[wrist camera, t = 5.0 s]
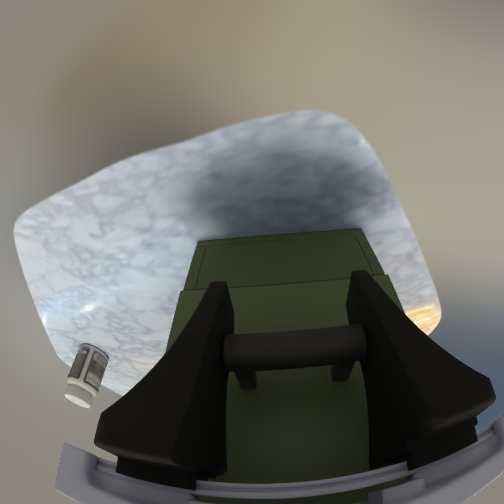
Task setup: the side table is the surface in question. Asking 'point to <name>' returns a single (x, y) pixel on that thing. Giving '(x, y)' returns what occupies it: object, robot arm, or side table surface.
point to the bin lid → (293, 388)
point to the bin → (281, 259)
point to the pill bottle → (86, 375)
